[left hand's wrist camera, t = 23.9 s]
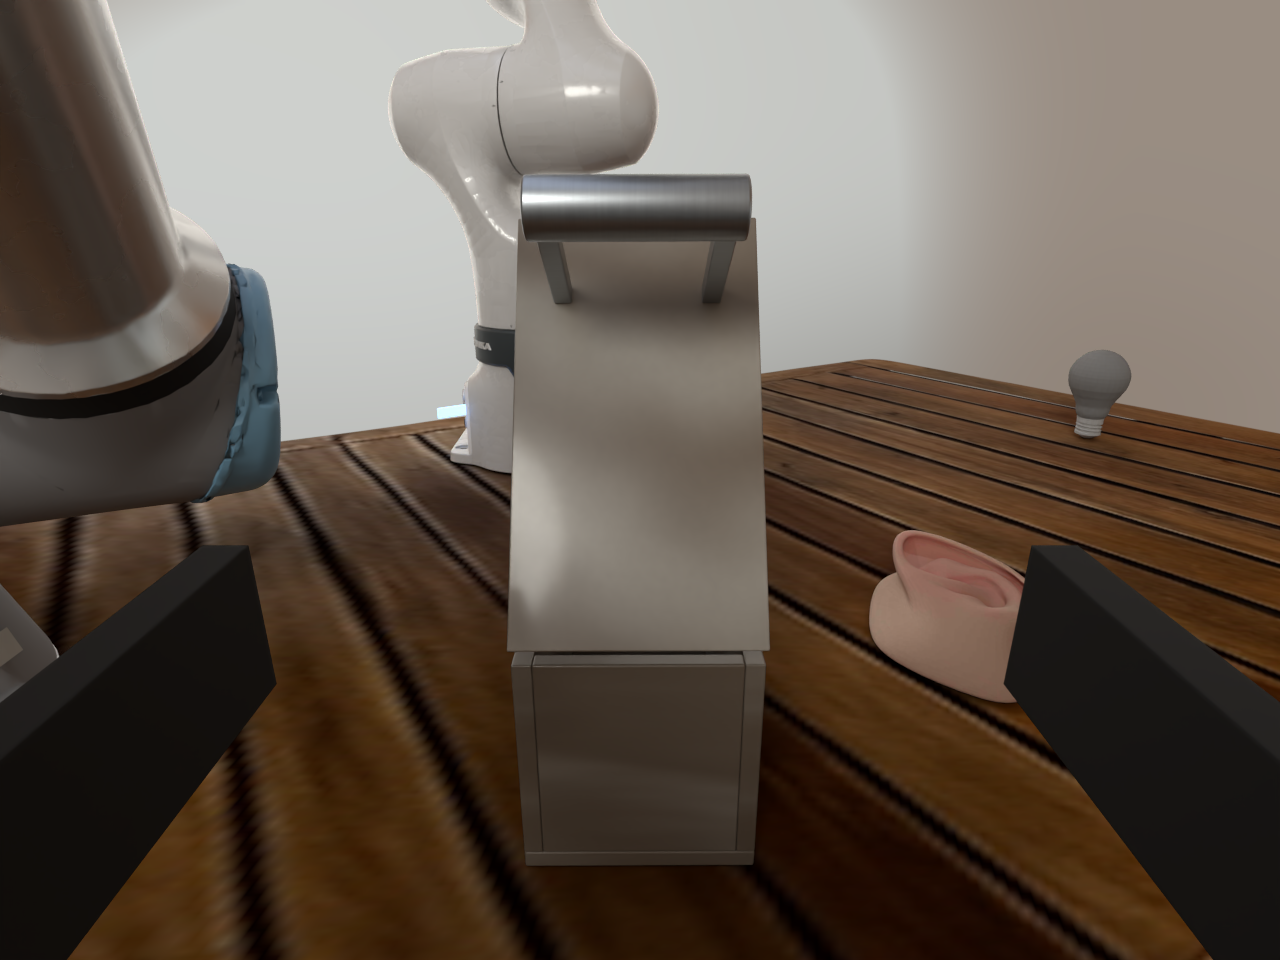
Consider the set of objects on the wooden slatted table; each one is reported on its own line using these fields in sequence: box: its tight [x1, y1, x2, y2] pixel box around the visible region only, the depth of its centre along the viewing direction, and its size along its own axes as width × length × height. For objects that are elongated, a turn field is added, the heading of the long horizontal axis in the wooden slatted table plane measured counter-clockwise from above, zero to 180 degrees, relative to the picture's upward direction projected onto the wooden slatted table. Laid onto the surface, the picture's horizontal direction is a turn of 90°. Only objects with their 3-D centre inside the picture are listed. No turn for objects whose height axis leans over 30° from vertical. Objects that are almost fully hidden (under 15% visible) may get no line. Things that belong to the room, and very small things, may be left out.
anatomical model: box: [869, 530, 1025, 703], centre depth 45 cm, size 13×4×12 cm
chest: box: [511, 651, 766, 866], centre depth 35 cm, size 16×9×9 cm, turn 0°
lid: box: [507, 174, 770, 652], centre depth 24 cm, size 16×9×8 cm
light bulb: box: [1068, 350, 1131, 438], centre depth 84 cm, size 6×6×10 cm
